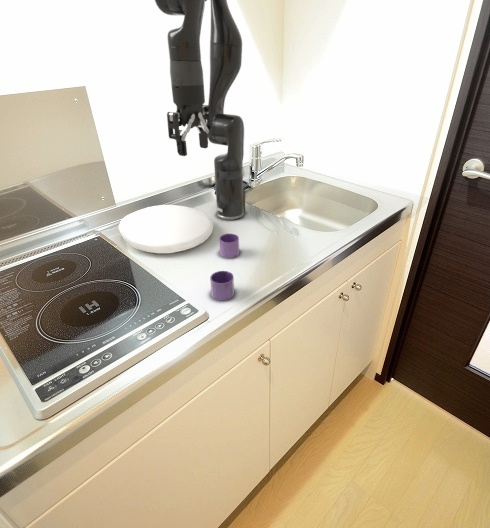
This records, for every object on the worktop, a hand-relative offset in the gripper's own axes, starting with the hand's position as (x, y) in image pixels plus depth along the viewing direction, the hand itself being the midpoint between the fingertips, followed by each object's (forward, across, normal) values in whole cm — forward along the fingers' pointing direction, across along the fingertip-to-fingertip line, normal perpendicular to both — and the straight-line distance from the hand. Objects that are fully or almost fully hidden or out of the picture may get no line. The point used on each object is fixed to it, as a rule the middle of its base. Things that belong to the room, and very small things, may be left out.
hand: (193, 151), depth 95 cm
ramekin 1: (+28, -1, +10) cm, 30 cm away
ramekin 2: (+28, +16, +19) cm, 38 cm away
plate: (+28, 0, -13) cm, 31 cm away
